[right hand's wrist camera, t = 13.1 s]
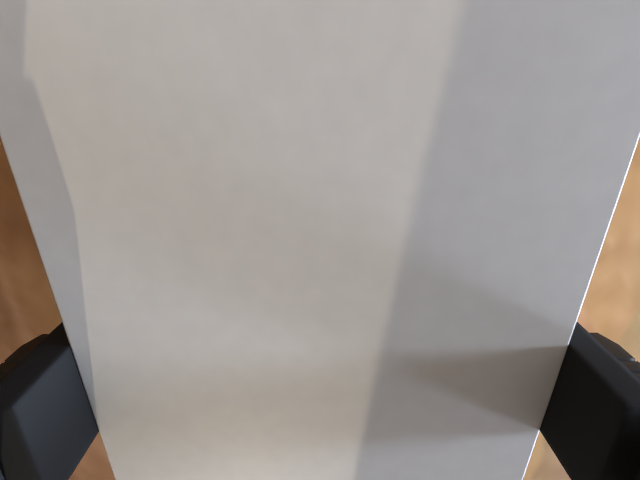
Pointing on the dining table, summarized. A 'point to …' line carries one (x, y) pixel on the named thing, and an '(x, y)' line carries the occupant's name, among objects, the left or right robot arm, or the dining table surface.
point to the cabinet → (319, 221)
